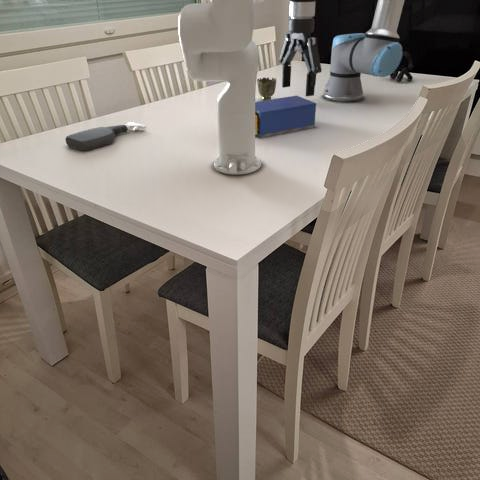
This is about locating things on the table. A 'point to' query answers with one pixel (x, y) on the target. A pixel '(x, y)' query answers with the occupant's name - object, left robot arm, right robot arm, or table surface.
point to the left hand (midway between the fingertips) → (238, 88)
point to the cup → (266, 87)
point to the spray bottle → (99, 136)
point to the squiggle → (403, 68)
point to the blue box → (285, 115)
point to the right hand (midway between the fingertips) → (297, 91)
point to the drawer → (256, 123)
